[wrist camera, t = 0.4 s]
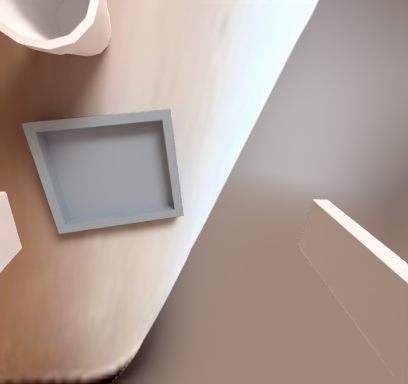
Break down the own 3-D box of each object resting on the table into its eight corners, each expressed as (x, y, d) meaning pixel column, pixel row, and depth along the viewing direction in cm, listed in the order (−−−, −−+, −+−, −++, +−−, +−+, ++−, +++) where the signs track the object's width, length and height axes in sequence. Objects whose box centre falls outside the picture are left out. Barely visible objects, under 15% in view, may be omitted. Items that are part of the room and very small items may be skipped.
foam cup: (111, 82, 32) (81, 70, 20) (34, 49, 30) (-53, 12, 17) (133, 4, 30) (114, -63, 18) (52, -39, 27) (-37, -153, 15)
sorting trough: (33, 121, 32) (21, 123, 29) (169, 109, 34) (170, 109, 32) (66, 224, 38) (58, 233, 35) (182, 207, 40) (183, 215, 37)
